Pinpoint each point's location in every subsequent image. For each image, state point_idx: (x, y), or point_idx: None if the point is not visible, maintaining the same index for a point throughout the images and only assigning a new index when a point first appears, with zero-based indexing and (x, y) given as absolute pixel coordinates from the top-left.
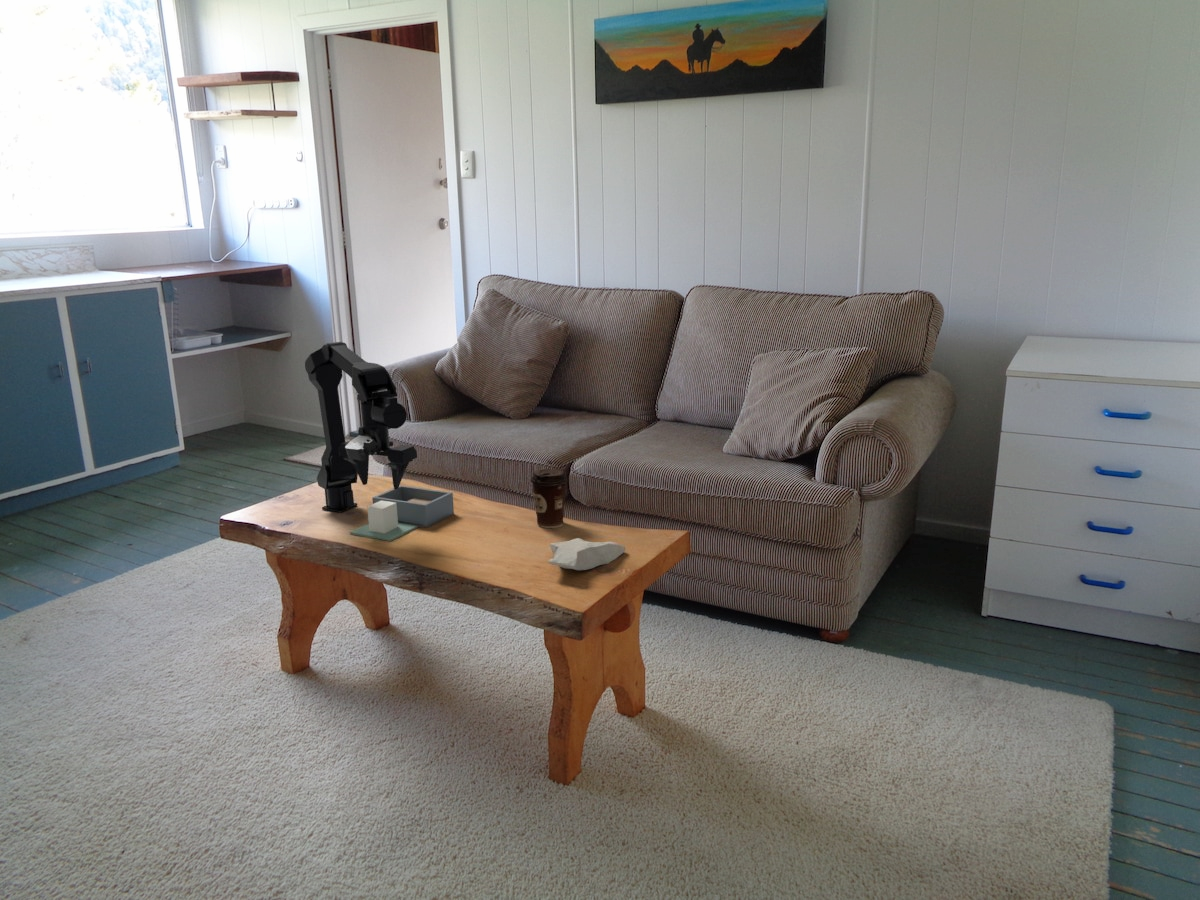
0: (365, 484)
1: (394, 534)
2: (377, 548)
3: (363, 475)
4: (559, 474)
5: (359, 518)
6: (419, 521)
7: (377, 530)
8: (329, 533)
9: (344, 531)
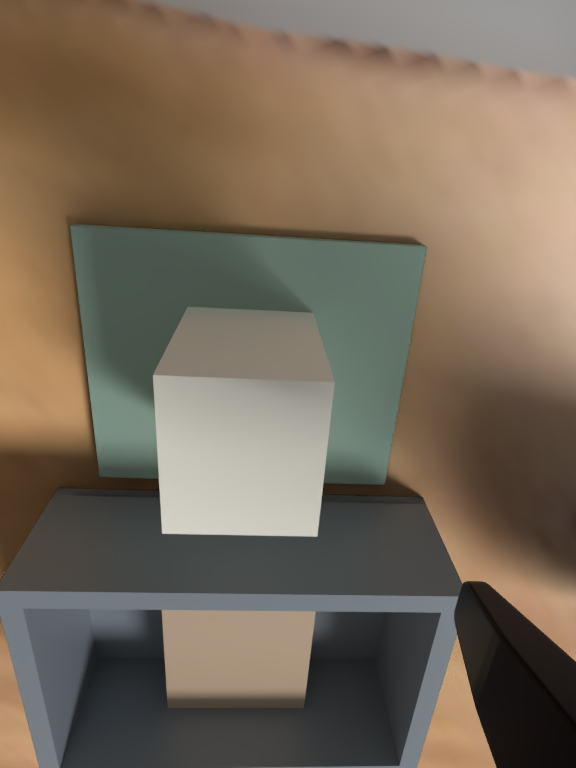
0: (460, 597)
1: (113, 310)
2: (49, 51)
3: (525, 707)
4: None
5: (506, 478)
6: (99, 506)
7: (246, 313)
8: (567, 207)
9: (485, 275)
